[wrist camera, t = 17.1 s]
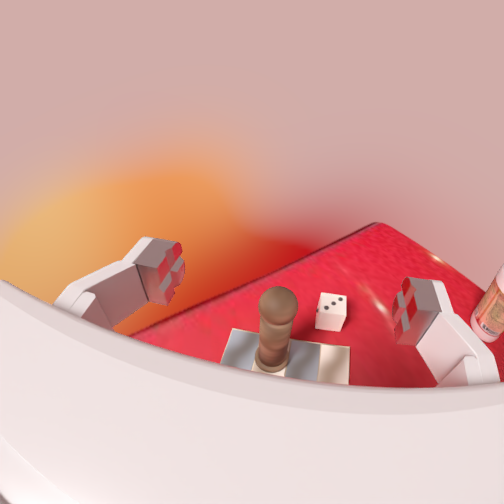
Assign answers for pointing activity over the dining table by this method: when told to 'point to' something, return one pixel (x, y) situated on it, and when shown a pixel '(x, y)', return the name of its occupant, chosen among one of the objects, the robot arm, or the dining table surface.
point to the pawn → (275, 328)
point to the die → (330, 312)
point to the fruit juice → (490, 311)
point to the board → (292, 358)
